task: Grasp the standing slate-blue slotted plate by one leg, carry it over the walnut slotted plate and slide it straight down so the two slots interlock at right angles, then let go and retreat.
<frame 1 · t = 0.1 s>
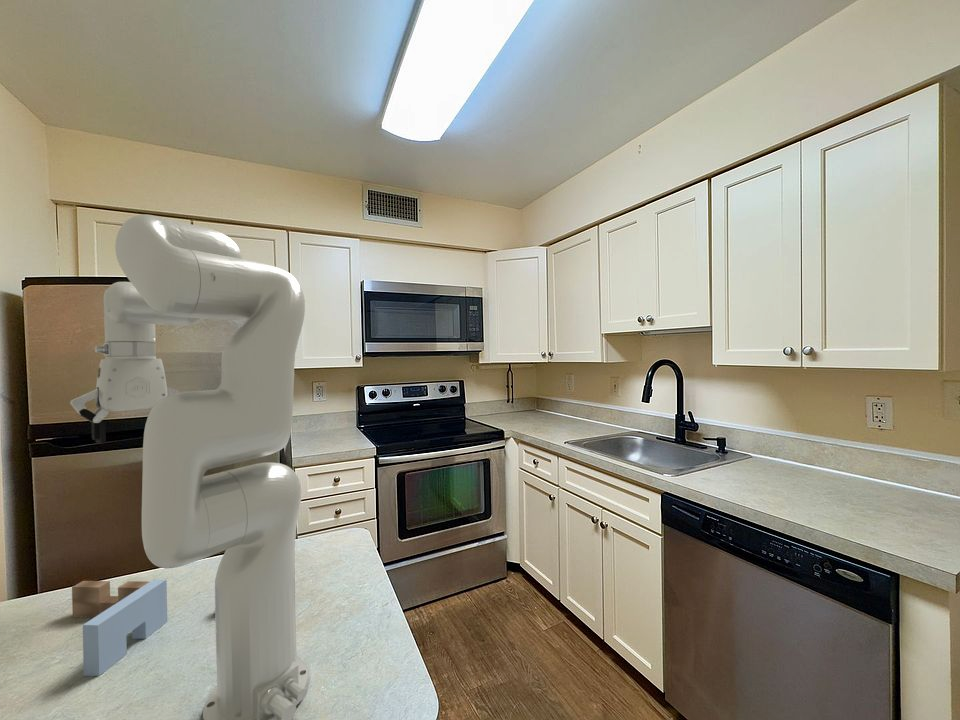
hand: (133, 438, 79), 31 cm above the countertop, fingers open, 9 cm apart
blue slot plate: (129, 646, 65), on the countertop
walnut slot plate: (114, 614, 73), on the countertop
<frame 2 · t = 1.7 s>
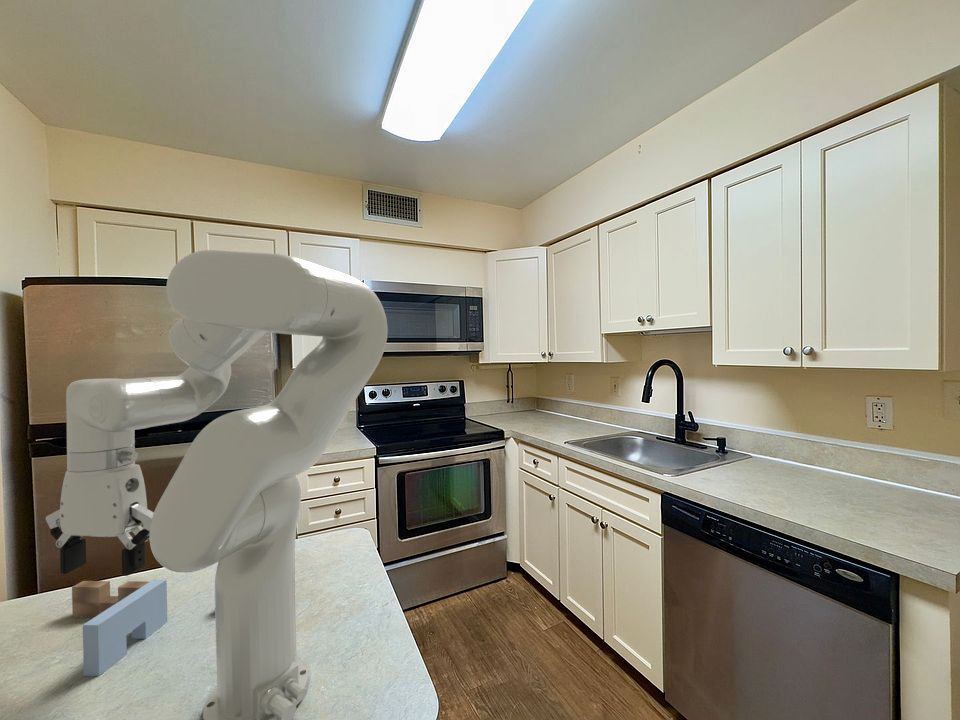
hand: (103, 570, 61), 14 cm above the countertop, fingers open, 9 cm apart
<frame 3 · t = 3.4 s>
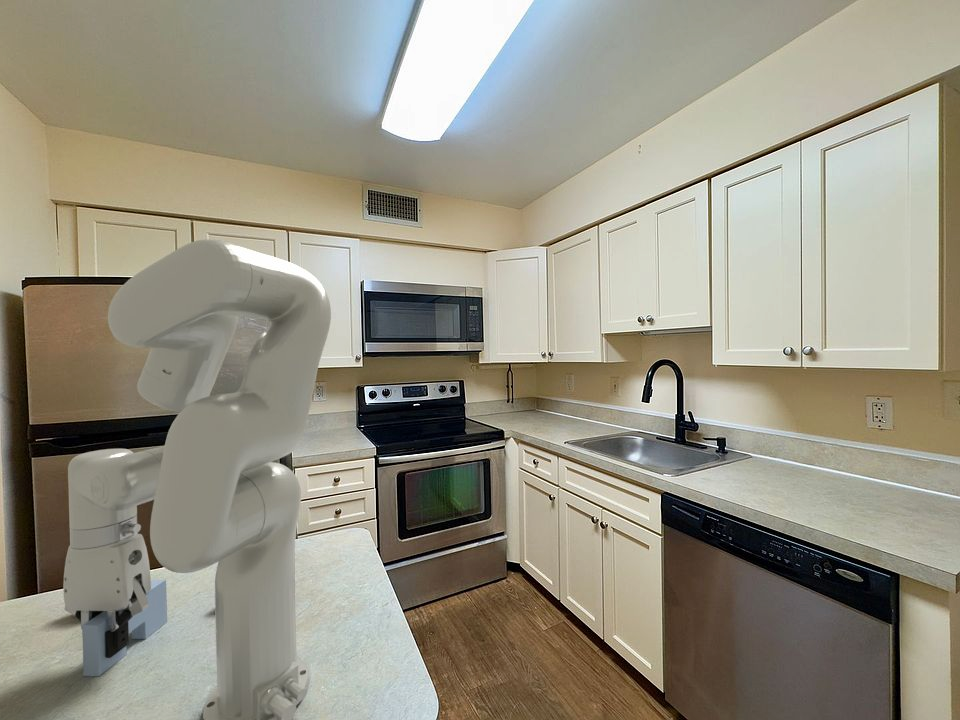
hand: (108, 650, 61), 2 cm above the countertop, fingers closed on blue slot plate, 2 cm apart
blue slot plate: (129, 646, 64), on the countertop, touching gripper
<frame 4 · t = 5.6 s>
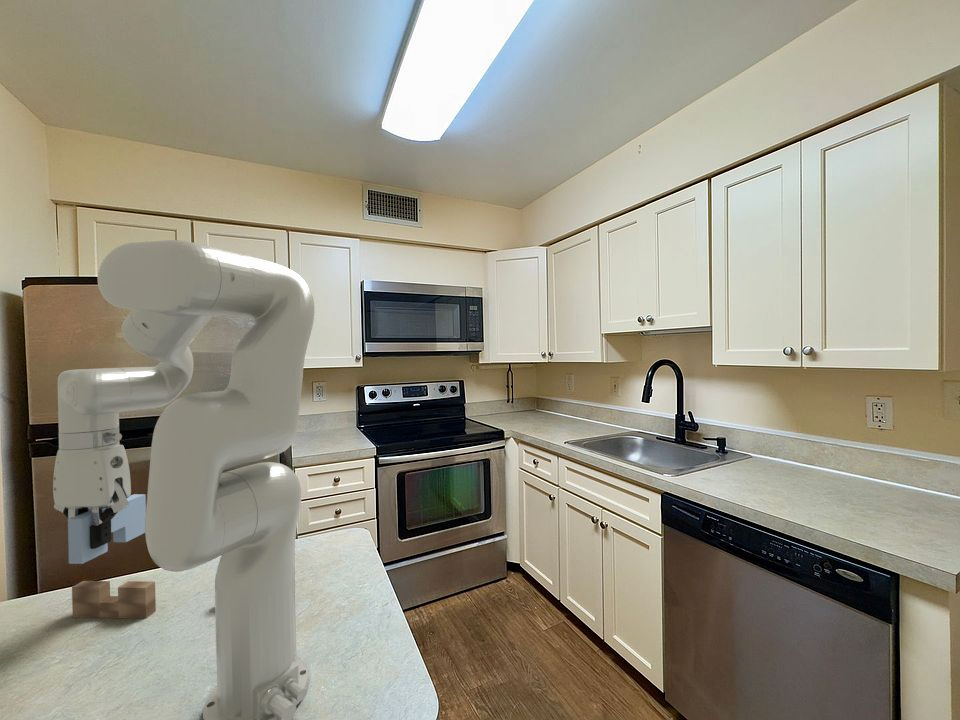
hand: (92, 544, 69), 15 cm above the countertop, fingers closed on blue slot plate, 2 cm apart
blue slot plate: (110, 546, 73), point 13 cm above the countertop, touching gripper
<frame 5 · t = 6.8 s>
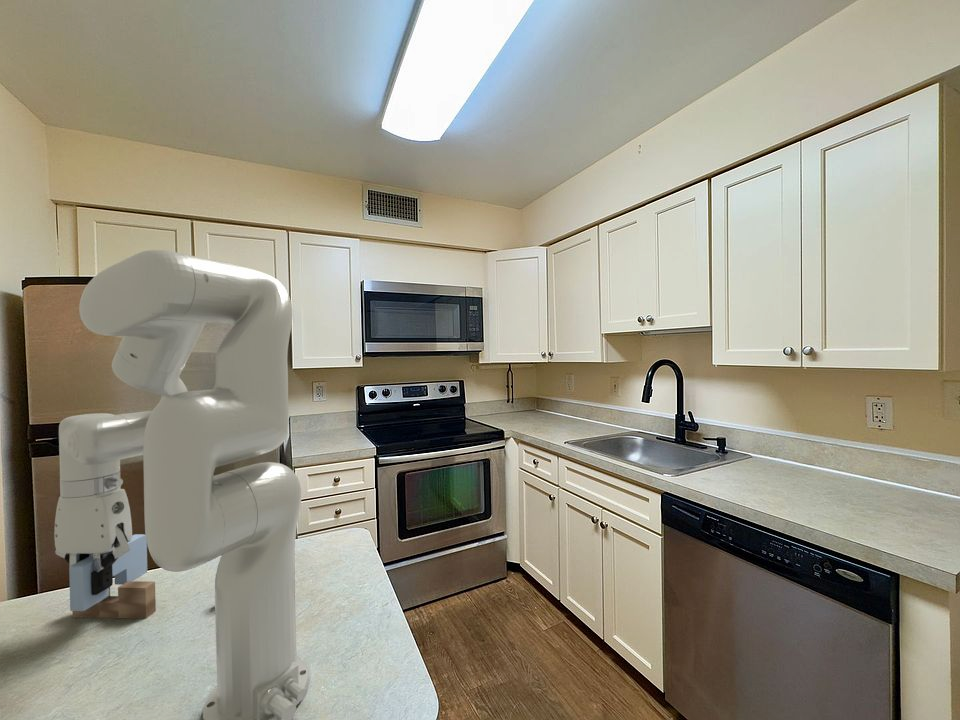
hand: (93, 589, 69), 7 cm above the countertop, fingers closed on blue slot plate, 2 cm apart
blue slot plate: (111, 589, 73), point 5 cm above the countertop, touching gripper
when the fingers open (3 cm above the countertop, at t = 7.7 s): blue slot plate stays where it is, on the countertop.
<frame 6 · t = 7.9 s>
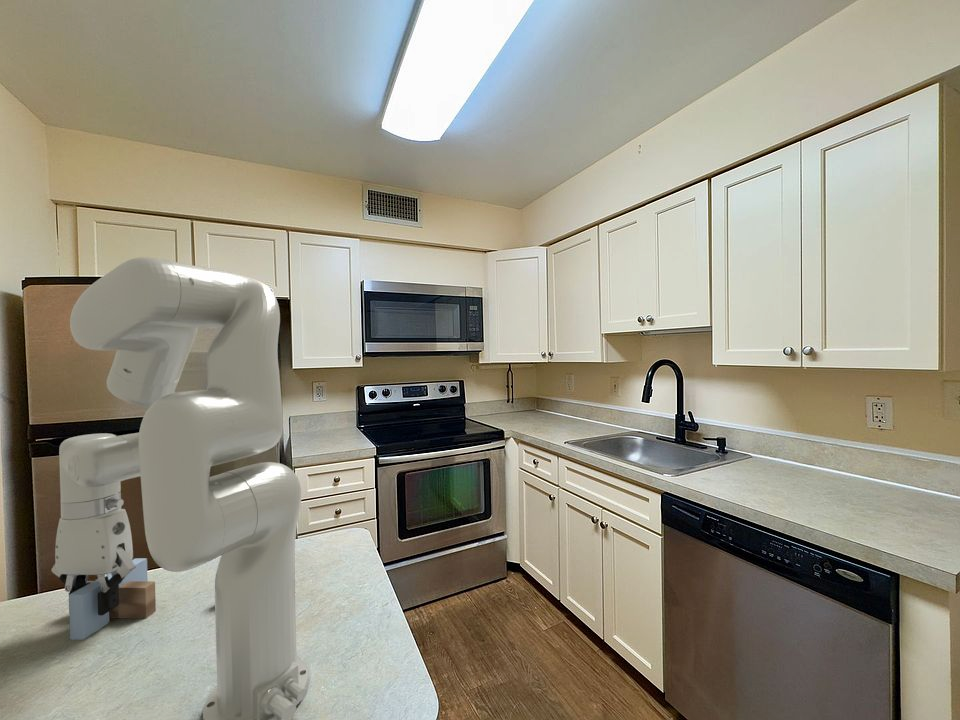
hand: (94, 609, 69), 3 cm above the countertop, fingers open, 4 cm apart
blue slot plate: (112, 616, 72), on the countertop
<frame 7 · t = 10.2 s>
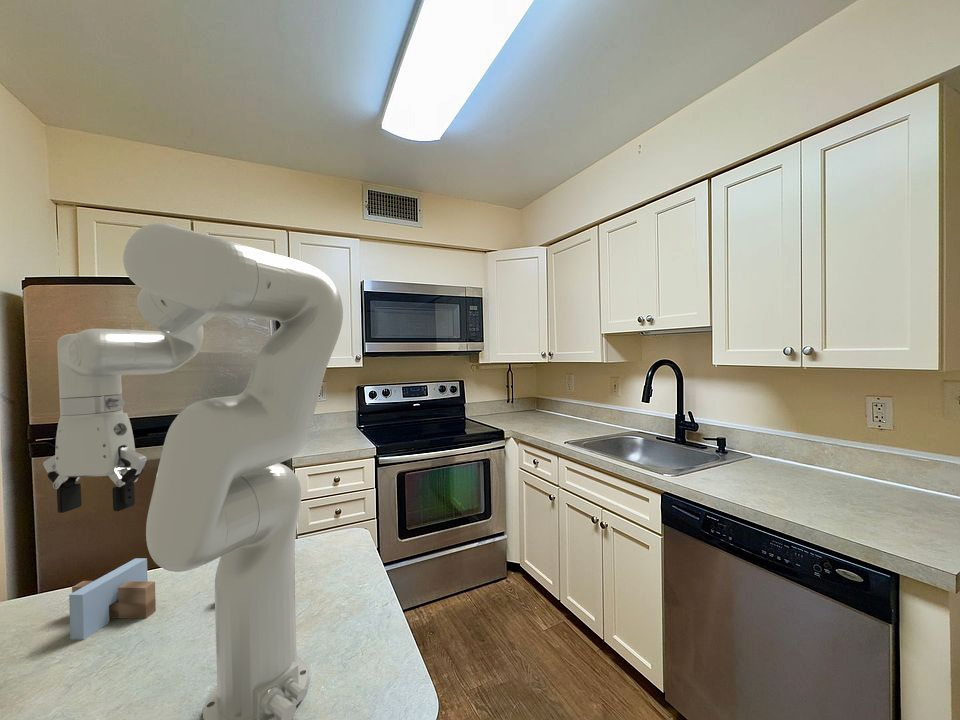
hand: (97, 509, 67), 22 cm above the countertop, fingers open, 9 cm apart
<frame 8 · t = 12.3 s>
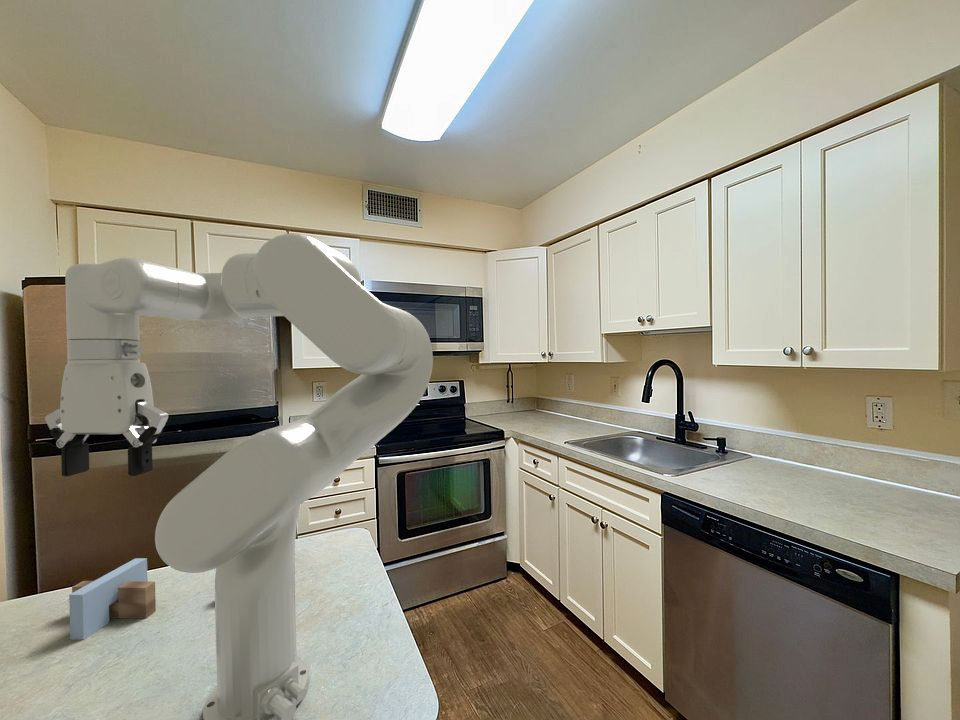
hand: (108, 473, 57), 30 cm above the countertop, fingers open, 9 cm apart
at the end: blue slot plate 0.5 cm off-centre on the walnut slot plate, point 0.0 cm above the walnut slot plate's base; blue slot plate tilted 0°; the gripper is holding nothing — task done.
